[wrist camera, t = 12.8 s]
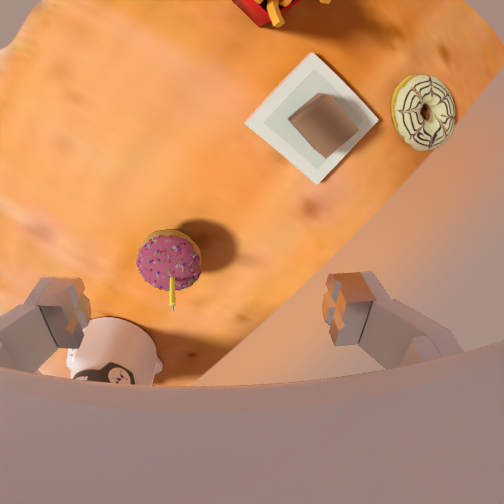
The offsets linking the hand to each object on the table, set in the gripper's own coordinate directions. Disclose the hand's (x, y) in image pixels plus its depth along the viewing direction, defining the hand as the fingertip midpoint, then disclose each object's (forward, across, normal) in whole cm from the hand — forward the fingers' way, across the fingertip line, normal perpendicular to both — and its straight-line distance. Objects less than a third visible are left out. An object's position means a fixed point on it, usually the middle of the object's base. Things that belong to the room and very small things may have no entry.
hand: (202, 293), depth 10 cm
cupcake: (+31, +6, +16) cm, 36 cm away
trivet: (+31, -12, -2) cm, 33 cm away
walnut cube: (+30, -12, -2) cm, 32 cm away
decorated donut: (+32, -27, -5) cm, 42 cm away
